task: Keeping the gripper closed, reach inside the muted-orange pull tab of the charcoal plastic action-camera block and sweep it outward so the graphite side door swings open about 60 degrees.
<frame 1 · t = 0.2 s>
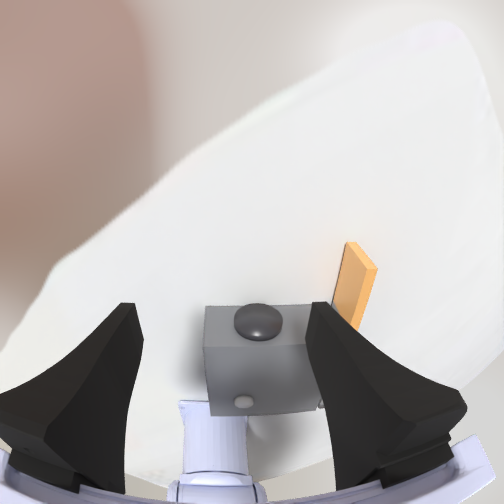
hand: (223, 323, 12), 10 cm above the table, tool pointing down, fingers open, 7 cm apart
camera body: (263, 347, 26), on the table
side door: (337, 339, 23), point 2 cm above the table, hinge at 0.0°
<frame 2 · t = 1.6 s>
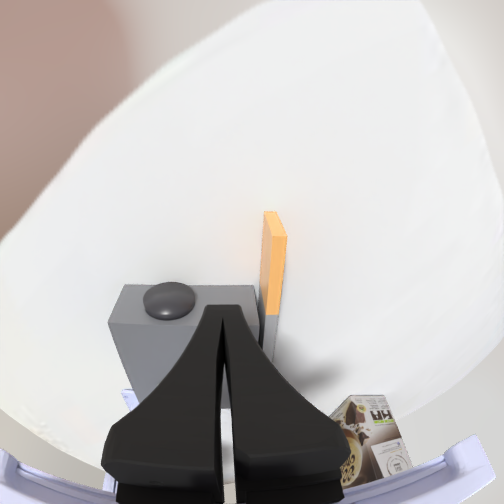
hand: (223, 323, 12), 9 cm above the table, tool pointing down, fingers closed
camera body: (192, 333, 24), on the table
coffee box: (348, 412, 34), on the table
side door: (265, 326, 21), point 2 cm above the table, hinge at 0.0°
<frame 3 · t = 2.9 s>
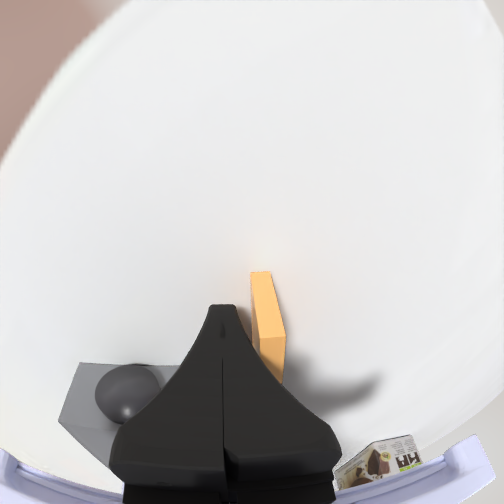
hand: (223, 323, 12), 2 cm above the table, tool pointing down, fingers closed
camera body: (173, 410, 17), on the table
coffee box: (371, 453, 26), on the table
side door: (264, 415, 14), point 2 cm above the table, hinge at 1.1°, touching gripper
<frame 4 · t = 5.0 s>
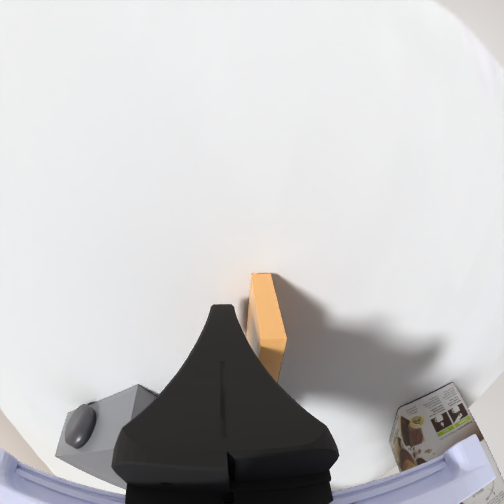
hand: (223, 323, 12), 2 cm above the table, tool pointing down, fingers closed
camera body: (146, 432, 19), on the table
coffee box: (417, 413, 22), on the table
side door: (251, 416, 14), point 2 cm above the table, hinge at 37.9°, touching gripper
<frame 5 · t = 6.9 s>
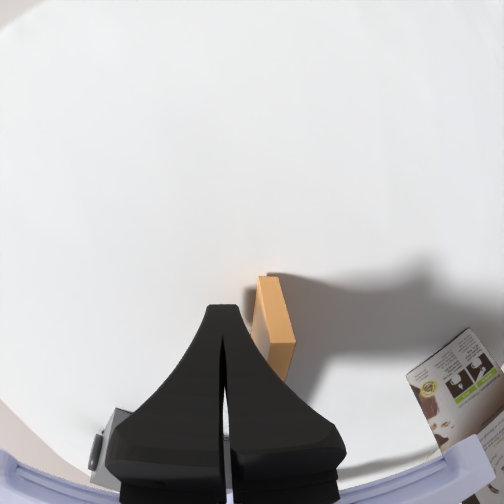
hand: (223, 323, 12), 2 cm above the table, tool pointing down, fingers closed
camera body: (158, 447, 20), on the table
coffee box: (444, 370, 19), on the table
side door: (252, 418, 14), point 2 cm above the table, hinge at 63.1°, touching gripper
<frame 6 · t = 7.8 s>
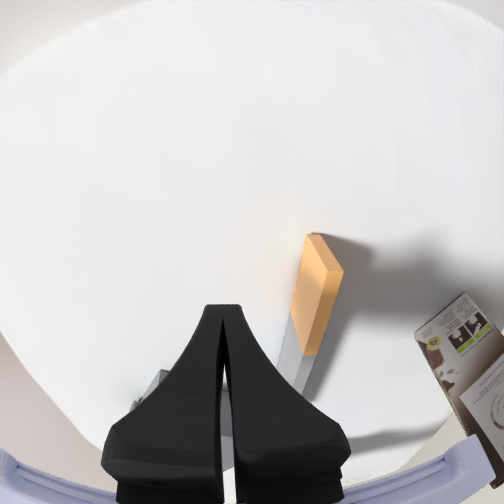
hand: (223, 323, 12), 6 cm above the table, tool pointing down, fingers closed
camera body: (192, 412, 24), on the table
coffee box: (446, 334, 23), on the table
side door: (293, 361, 18), point 2 cm above the table, hinge at 63.3°
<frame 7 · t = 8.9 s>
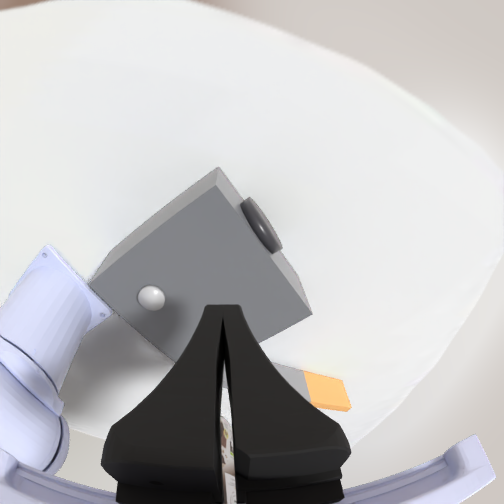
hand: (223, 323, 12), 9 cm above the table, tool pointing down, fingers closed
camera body: (203, 263, 21), on the table
coffee box: (198, 428, 33), on the table
side door: (281, 382, 25), point 2 cm above the table, hinge at 63.3°
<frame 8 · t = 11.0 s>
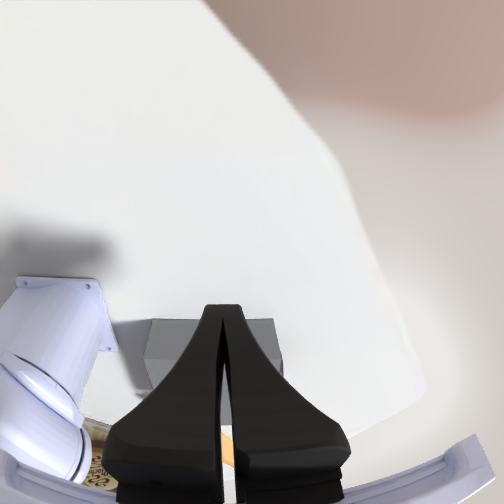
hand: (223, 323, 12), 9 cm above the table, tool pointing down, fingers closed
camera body: (214, 359, 26), on the table
coffee box: (109, 431, 33), on the table
side door: (208, 438, 30), point 2 cm above the table, hinge at 63.3°
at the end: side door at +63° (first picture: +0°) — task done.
